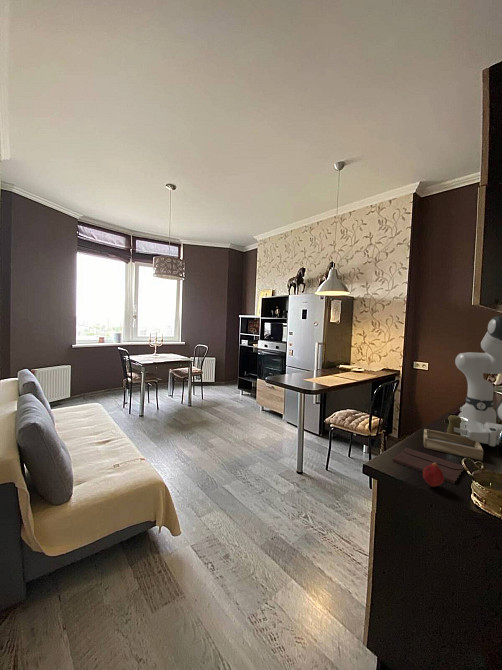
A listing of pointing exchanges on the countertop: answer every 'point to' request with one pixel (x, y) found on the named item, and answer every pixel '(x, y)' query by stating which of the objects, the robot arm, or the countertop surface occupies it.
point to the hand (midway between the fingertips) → (452, 426)
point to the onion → (433, 475)
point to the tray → (452, 444)
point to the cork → (453, 424)
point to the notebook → (429, 463)
